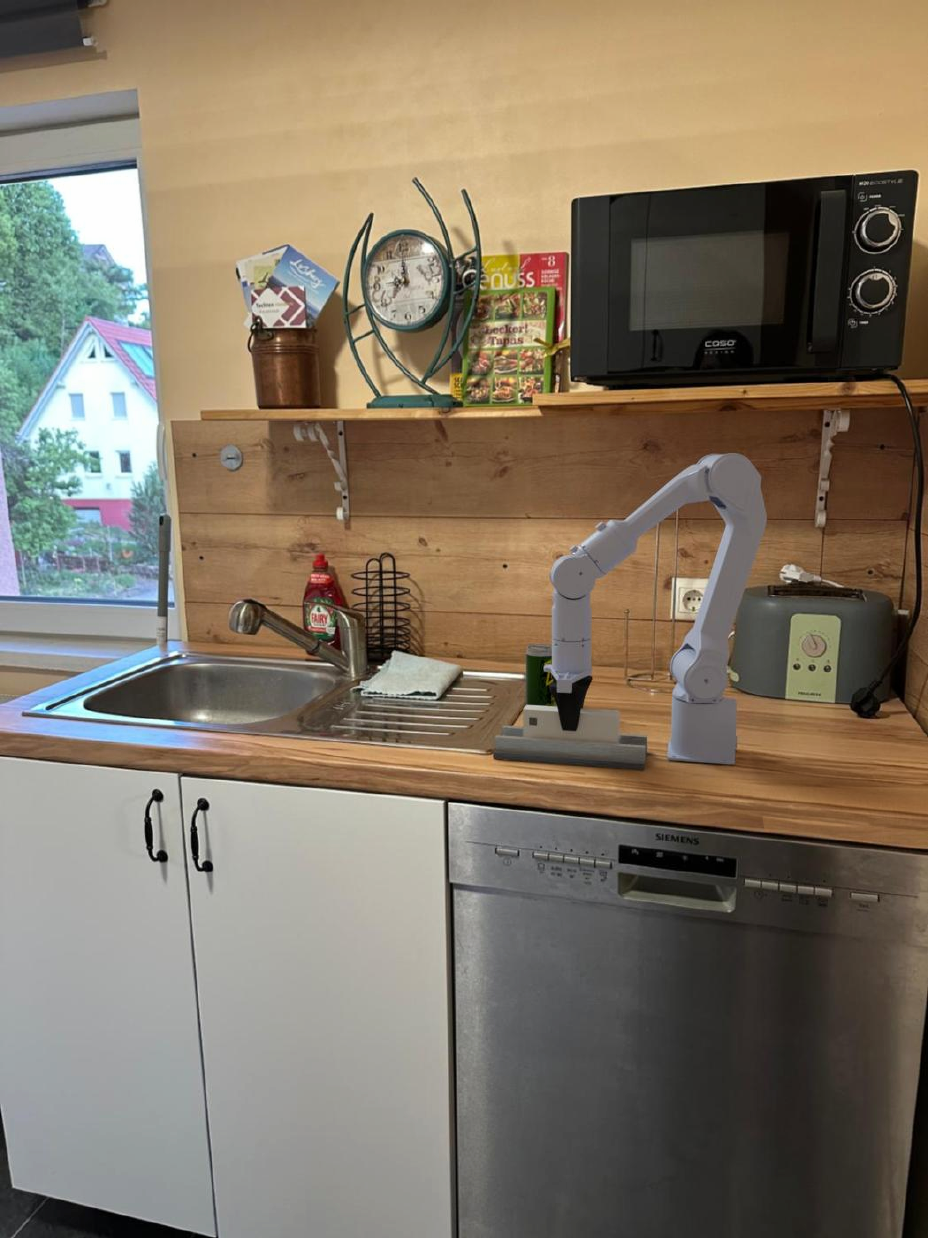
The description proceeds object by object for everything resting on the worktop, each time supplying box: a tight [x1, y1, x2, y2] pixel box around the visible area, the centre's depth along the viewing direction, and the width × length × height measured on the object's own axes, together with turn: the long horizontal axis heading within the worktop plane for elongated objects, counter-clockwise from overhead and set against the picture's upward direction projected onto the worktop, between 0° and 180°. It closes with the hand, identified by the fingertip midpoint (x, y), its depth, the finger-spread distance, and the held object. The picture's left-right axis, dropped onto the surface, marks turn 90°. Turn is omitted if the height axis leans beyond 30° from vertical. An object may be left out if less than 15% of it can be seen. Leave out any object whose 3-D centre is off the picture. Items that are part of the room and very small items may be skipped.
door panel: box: [522, 704, 621, 744], centre depth 124 cm, size 14×2×6 cm, turn 75°
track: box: [492, 724, 648, 771], centre depth 125 cm, size 22×8×3 cm, turn 75°
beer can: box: [525, 643, 557, 707], centre depth 144 cm, size 5×5×12 cm
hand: (571, 727), depth 124 cm, fingers closed on door panel, 2 cm apart
